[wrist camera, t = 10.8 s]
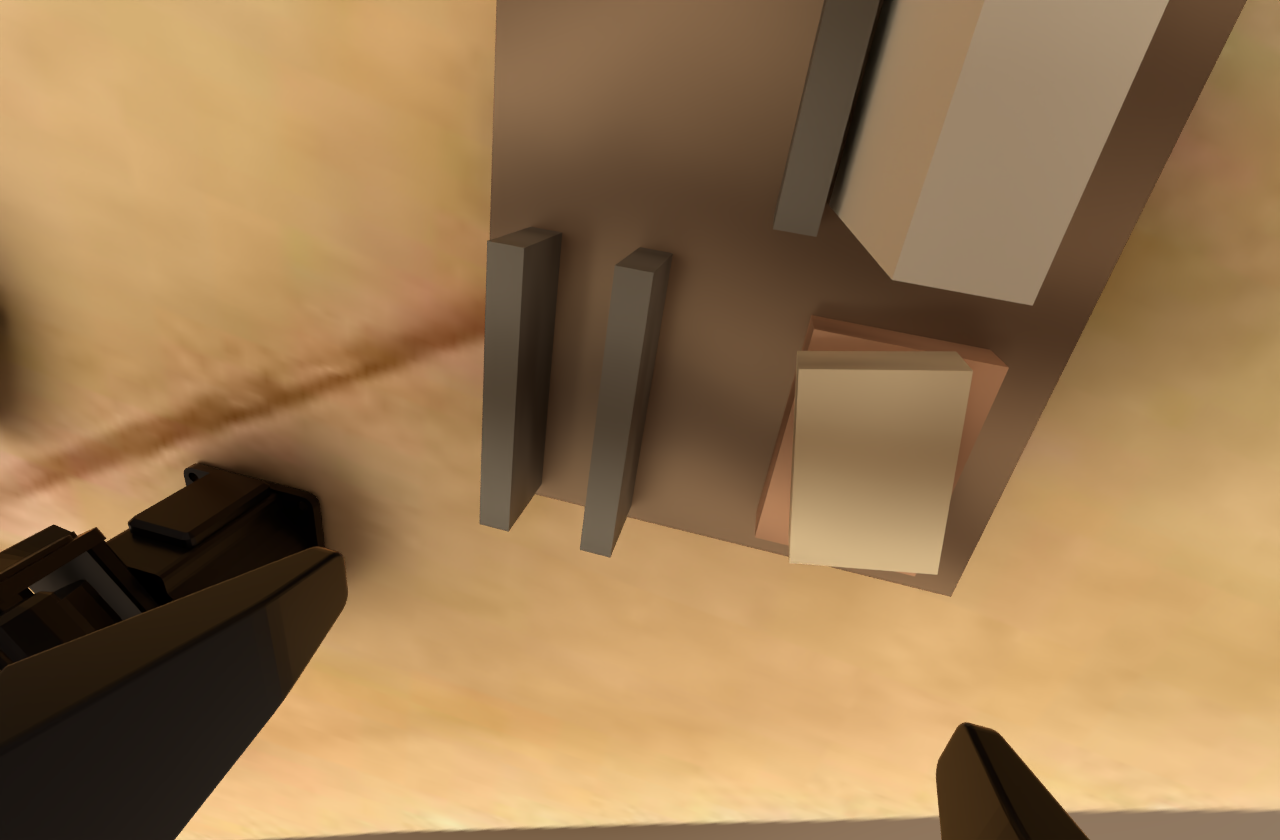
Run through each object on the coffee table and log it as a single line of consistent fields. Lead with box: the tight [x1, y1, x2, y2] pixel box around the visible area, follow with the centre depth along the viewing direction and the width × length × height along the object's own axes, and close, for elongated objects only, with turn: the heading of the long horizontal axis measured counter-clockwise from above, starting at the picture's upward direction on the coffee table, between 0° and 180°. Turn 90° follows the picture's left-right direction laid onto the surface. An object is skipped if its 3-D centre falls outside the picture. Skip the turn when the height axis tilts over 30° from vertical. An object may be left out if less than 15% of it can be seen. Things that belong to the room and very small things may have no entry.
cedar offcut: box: [755, 315, 1009, 576], centre depth 18 cm, size 7×5×2 cm
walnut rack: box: [480, 0, 1247, 597], centre depth 16 cm, size 20×17×4 cm
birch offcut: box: [788, 351, 973, 575], centre depth 16 cm, size 6×4×2 cm, turn 4°
